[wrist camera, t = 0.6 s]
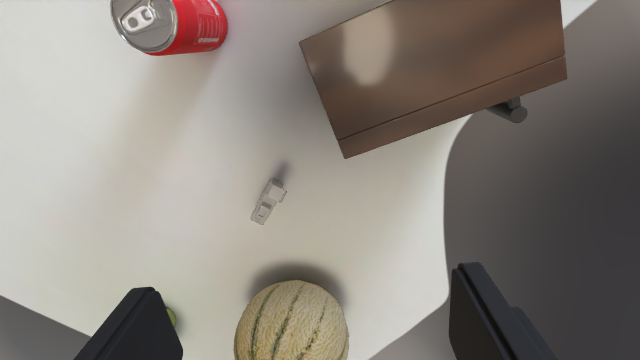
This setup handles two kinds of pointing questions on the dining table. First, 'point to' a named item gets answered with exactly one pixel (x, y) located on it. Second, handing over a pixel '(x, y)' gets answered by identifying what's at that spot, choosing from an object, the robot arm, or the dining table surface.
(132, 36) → the beverage can
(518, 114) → the tinted door with handle
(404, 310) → the dining table surface
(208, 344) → the dining table surface
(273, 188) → the lighter
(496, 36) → the cabinet
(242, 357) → the cantaloupe
